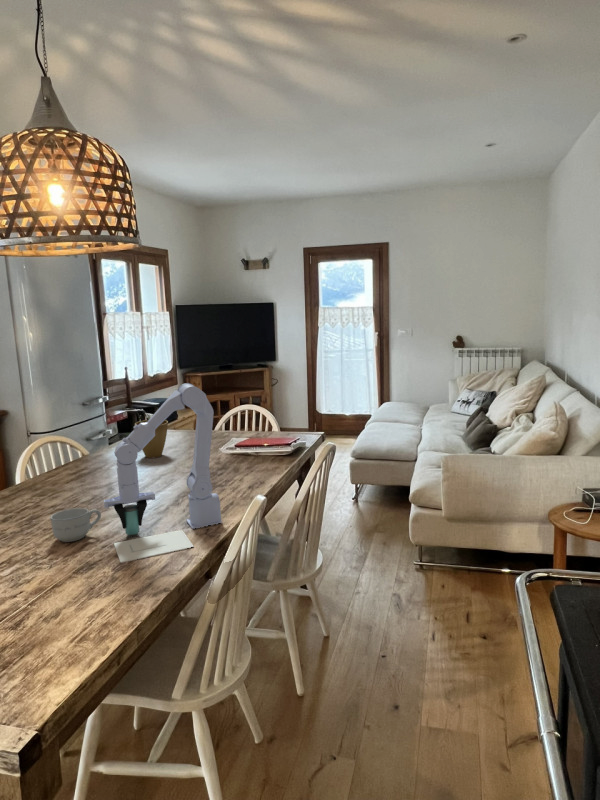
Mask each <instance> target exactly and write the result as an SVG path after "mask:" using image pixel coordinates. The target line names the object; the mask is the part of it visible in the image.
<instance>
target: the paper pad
mask: <svg viewBox="0 0 600 800" xmlns="http://www.w3.org/2000/svg"><path fill="white" fill-rule="evenodd" d="M113 546H114V549H115V552H116V554H117V557H118V560H119V562H120V564H123V563H129V562H131V561H137V559H138V560H141V559H146V558H152V557H156V556H160V555H165V554H170V553H174V551H175V552H179V550H180V551H184V550H187V548H189V549H191V547H195V546H194V545H193V543H192V541H191V540H190V539H189V537H188V536H187V535H186V533H185V532H184V531H183V529H179V530H174V531H173V530H172V531H169V532H163V533H158V534H153V535H150V536H149V535H148V536H144V537H137V538H134V539H128V540H124V541H118V542H113Z"/></svg>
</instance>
